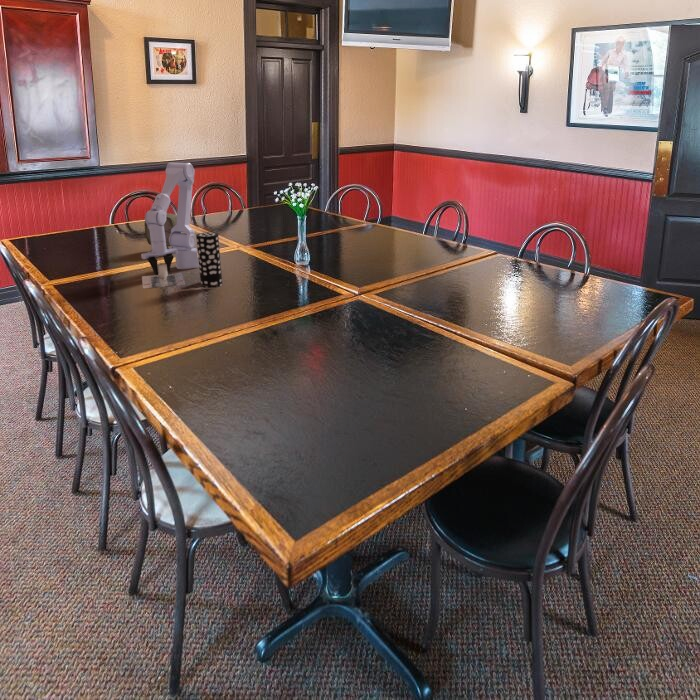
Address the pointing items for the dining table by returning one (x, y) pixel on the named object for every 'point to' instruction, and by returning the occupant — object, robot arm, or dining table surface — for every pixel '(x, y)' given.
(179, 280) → the hub plate
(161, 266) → the knob
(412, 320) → the dining table surface
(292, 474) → the dining table surface
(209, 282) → the white-spotted black cylinder
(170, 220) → the tabletop clock
